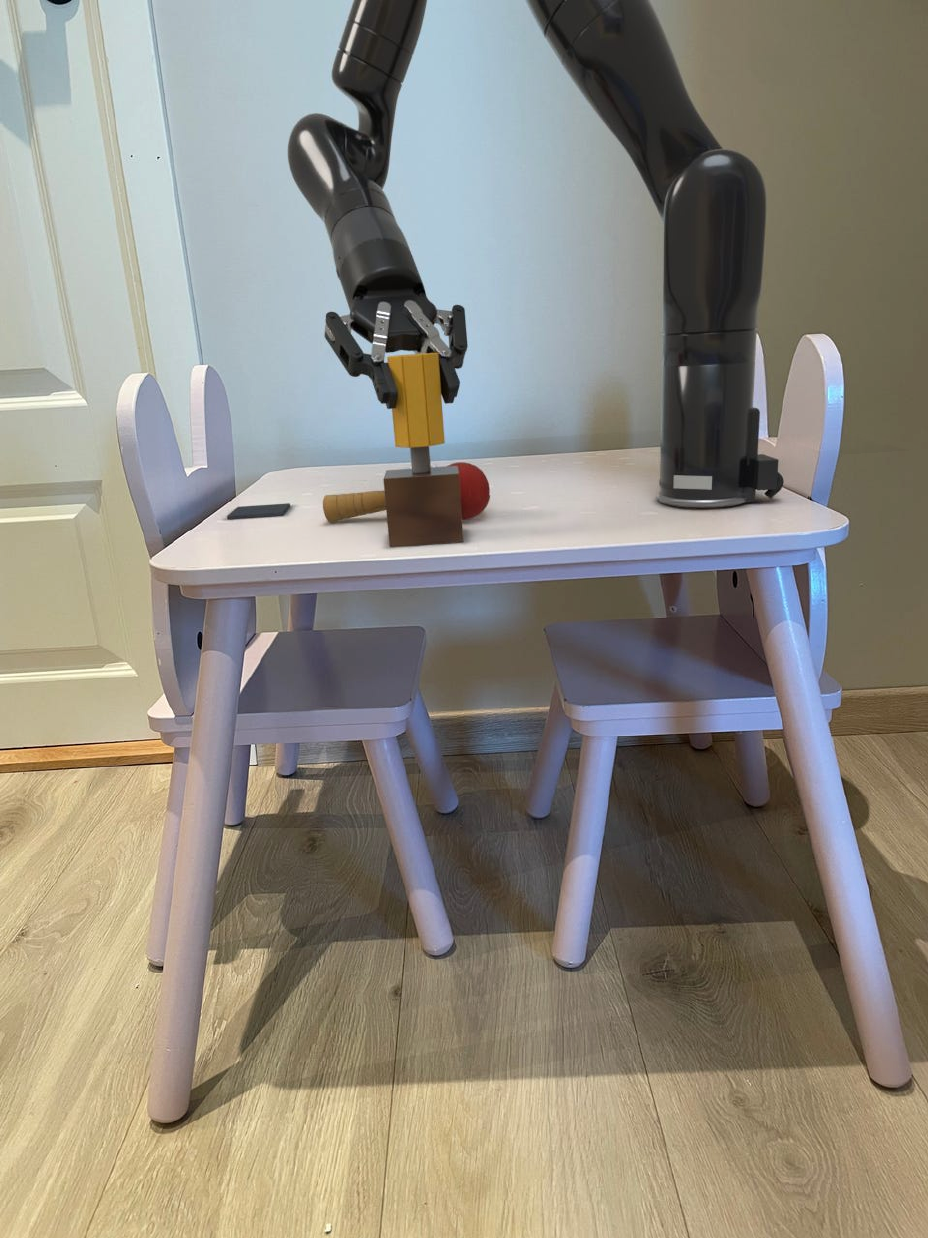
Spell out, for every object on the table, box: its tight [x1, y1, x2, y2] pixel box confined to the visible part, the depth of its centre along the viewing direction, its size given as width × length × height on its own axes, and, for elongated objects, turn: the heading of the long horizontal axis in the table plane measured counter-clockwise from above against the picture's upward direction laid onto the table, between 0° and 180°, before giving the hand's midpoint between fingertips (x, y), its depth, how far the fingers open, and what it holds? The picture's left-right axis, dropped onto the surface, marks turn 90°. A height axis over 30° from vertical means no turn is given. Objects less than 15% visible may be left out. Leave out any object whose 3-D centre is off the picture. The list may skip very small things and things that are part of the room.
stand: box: [383, 446, 464, 548], centre depth 79 cm, size 7×5×12 cm
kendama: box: [322, 461, 491, 523], centre depth 88 cm, size 8×6×18 cm
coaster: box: [226, 502, 291, 520], centre depth 98 cm, size 6×6×1 cm
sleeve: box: [386, 353, 446, 449], centre depth 76 cm, size 5×5×8 cm
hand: (422, 399), depth 75 cm, fingers closed on sleeve, 5 cm apart
